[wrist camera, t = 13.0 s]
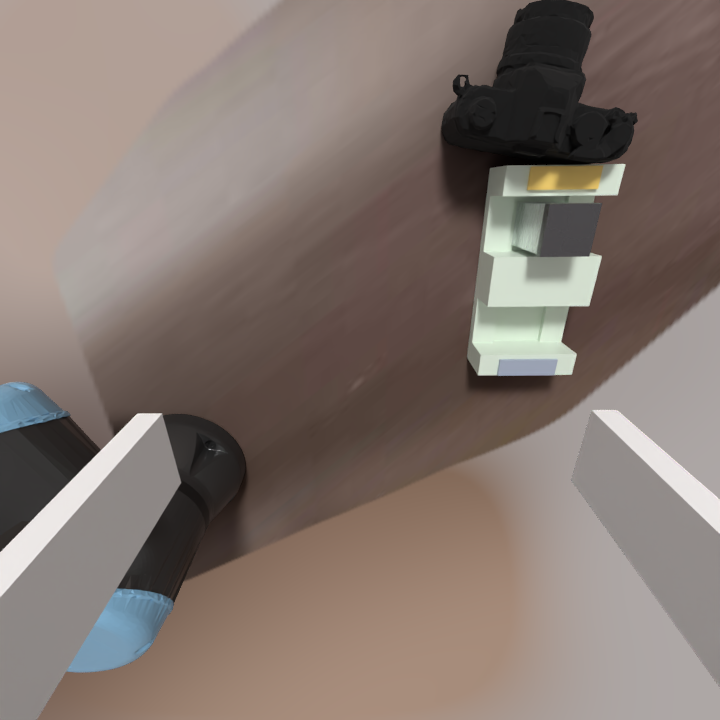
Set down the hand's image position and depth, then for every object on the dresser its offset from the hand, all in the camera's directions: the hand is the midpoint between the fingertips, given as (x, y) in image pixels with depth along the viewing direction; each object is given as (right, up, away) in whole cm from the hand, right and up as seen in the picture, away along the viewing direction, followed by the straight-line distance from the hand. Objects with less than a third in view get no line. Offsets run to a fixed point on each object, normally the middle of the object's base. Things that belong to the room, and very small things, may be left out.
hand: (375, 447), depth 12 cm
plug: (+17, +16, +26) cm, 35 cm away
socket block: (+17, +12, +28) cm, 35 cm away
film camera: (+14, +26, +22) cm, 37 cm away
